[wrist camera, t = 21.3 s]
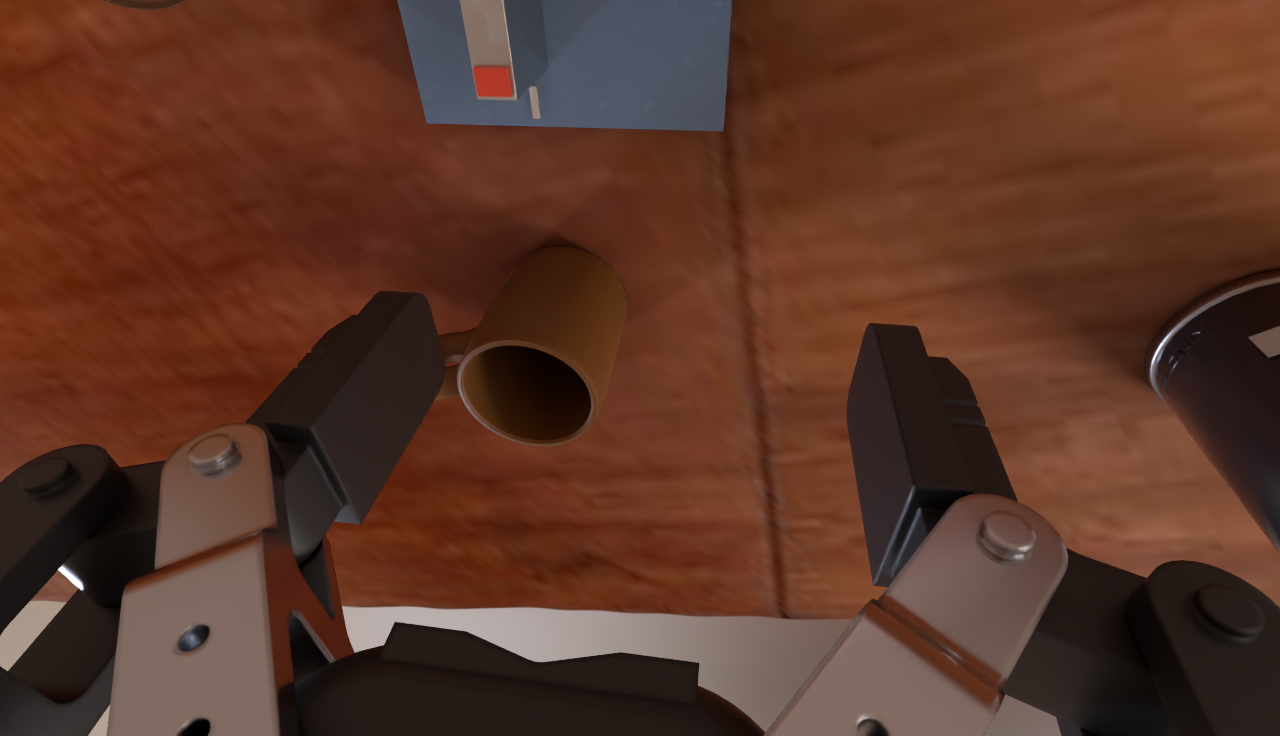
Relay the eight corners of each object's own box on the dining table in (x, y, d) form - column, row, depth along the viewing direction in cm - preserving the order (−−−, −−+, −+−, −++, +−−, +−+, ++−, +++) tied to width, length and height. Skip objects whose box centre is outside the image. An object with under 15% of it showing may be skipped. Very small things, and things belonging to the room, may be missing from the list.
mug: (466, 347, 42) (407, 448, 35) (427, 248, 37) (348, 341, 30) (638, 343, 39) (612, 450, 32) (619, 236, 35) (584, 335, 28)
